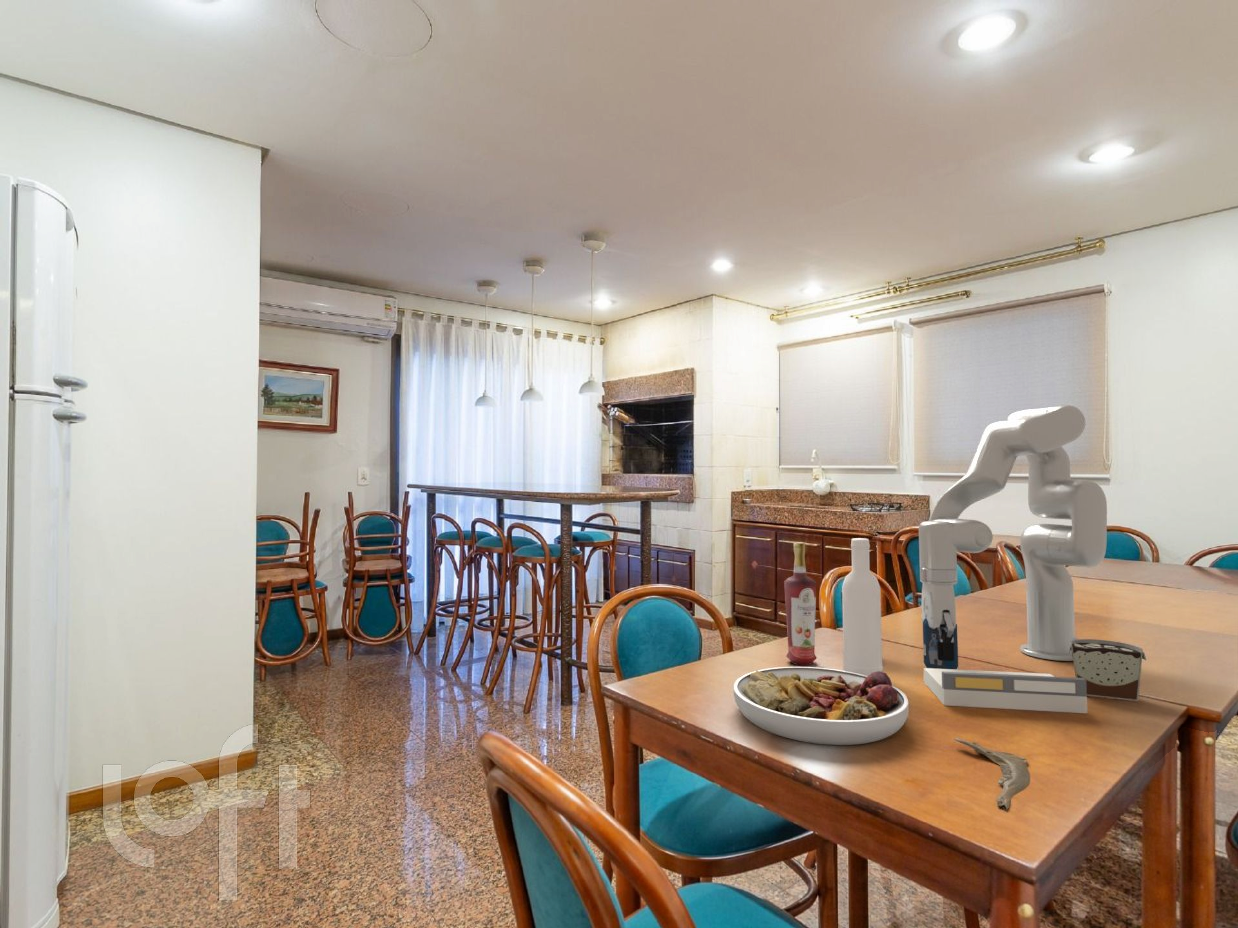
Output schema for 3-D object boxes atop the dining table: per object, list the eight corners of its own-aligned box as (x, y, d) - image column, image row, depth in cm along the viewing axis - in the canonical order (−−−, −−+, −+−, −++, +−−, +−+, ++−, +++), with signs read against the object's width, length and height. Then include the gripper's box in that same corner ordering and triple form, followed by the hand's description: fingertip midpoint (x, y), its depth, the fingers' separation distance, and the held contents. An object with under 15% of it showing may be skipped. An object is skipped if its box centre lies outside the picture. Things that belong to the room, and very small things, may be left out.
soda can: (953, 666, 144) (951, 613, 145) (962, 675, 137) (960, 619, 138) (920, 664, 146) (919, 612, 146) (928, 673, 139) (926, 618, 139)
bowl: (772, 760, 97) (771, 708, 97) (713, 695, 127) (712, 656, 127) (948, 746, 102) (947, 696, 102) (851, 687, 131) (851, 649, 132)
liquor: (795, 667, 144) (793, 545, 145) (779, 659, 151) (777, 542, 152) (823, 665, 146) (821, 544, 147) (807, 657, 153) (805, 541, 154)
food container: (1137, 692, 126) (1135, 641, 126) (1147, 702, 120) (1146, 649, 120) (1062, 684, 131) (1061, 636, 131) (1069, 693, 125) (1068, 642, 126)
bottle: (853, 670, 142) (851, 536, 143) (888, 677, 136) (885, 538, 137) (836, 678, 136) (834, 539, 137) (872, 686, 131) (869, 541, 132)
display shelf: (1050, 688, 128) (1049, 658, 128) (1088, 714, 114) (1087, 680, 114) (923, 682, 133) (923, 653, 133) (945, 706, 119) (944, 673, 119)
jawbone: (1015, 757, 99) (1016, 744, 99) (1078, 828, 79) (1080, 812, 79) (952, 747, 101) (953, 734, 101) (999, 814, 81) (1000, 799, 81)
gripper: (910, 570, 152) (912, 645, 151) (931, 581, 134) (933, 665, 134) (944, 570, 150) (946, 646, 150) (969, 582, 133) (972, 667, 132)
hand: (940, 654), depth 142 cm, fingers closed on soda can, 6 cm apart
